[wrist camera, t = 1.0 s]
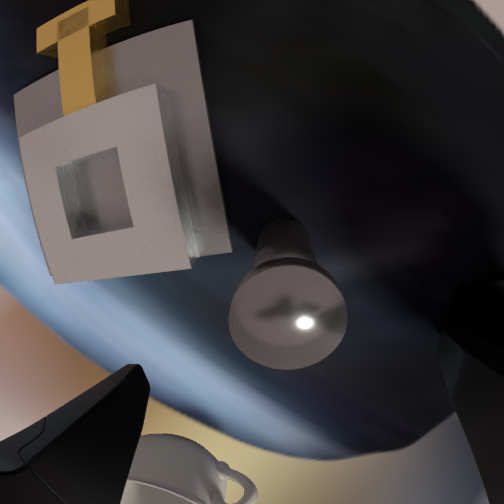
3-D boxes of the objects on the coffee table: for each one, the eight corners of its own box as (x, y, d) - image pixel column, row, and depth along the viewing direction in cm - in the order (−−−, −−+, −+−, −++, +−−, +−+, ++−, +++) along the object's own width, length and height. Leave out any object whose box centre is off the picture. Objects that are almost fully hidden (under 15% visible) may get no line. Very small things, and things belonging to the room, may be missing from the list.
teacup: (149, 472, 29) (131, 525, 22) (110, 412, 26) (77, 473, 18) (270, 478, 28) (266, 541, 20) (254, 417, 24) (246, 497, 17)
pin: (313, 204, 18) (345, 260, 10) (320, 269, 19) (348, 362, 11) (244, 213, 19) (217, 276, 10) (255, 277, 20) (240, 373, 11)
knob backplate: (188, -19, 14) (177, -36, 12) (233, 248, 19) (227, 264, 17) (17, 57, 16) (-4, 54, 13) (54, 272, 21) (36, 286, 19)
